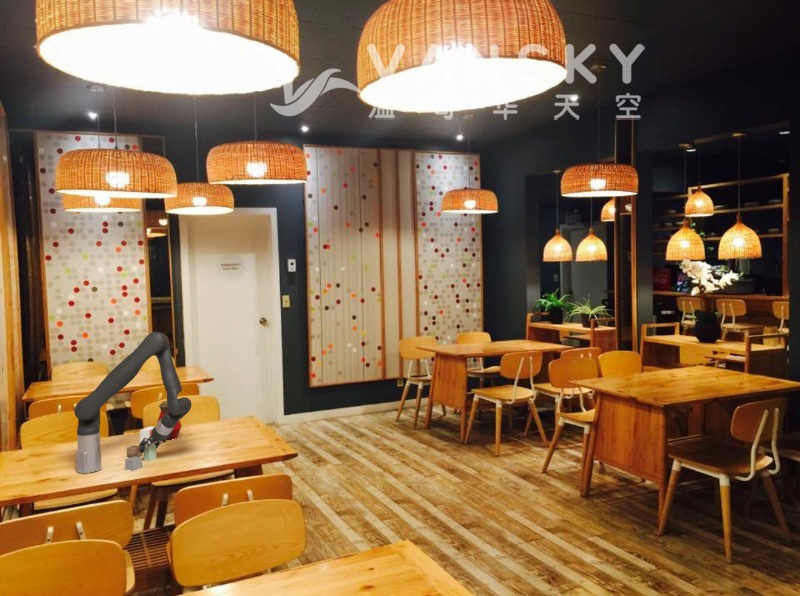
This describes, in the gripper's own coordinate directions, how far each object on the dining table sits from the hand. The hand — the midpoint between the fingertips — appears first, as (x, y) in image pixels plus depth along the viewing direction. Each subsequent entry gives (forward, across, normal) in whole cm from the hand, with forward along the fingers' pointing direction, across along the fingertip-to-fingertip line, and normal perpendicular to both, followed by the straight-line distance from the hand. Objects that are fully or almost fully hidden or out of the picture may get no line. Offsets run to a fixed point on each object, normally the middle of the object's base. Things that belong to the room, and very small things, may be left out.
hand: (147, 449), depth 304 cm
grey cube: (-1, +13, +8) cm, 15 cm away
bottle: (+18, -30, -11) cm, 37 cm away
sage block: (+2, 0, +4) cm, 5 cm away
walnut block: (+10, 0, -3) cm, 11 cm away
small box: (+14, -13, -7) cm, 20 cm away
